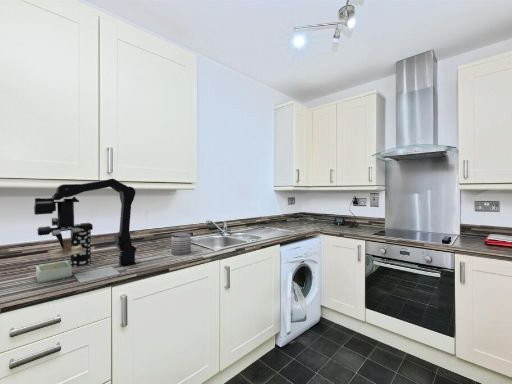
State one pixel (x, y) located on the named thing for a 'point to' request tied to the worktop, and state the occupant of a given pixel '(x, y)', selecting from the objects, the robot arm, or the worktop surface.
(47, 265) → the dish
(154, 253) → the worktop surface
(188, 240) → the can
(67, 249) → the cover
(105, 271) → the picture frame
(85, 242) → the white-spotted black cylinder
